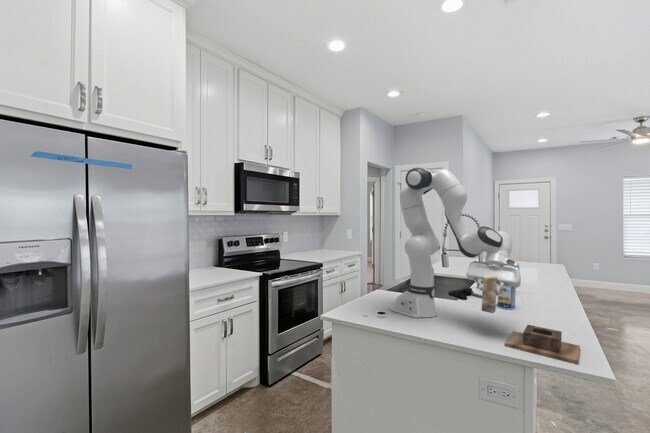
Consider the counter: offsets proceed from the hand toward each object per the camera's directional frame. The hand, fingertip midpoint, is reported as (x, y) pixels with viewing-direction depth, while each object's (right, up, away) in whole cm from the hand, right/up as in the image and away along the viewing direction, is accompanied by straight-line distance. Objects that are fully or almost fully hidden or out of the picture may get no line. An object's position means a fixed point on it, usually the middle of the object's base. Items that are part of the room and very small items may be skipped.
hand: (489, 290), depth 133 cm
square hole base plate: (+15, -19, -10) cm, 26 cm away
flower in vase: (+43, -18, +67) cm, 82 cm away
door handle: (+18, -18, +61) cm, 66 cm away
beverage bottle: (+29, -18, +40) cm, 52 cm away
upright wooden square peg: (0, -8, +1) cm, 9 cm away
